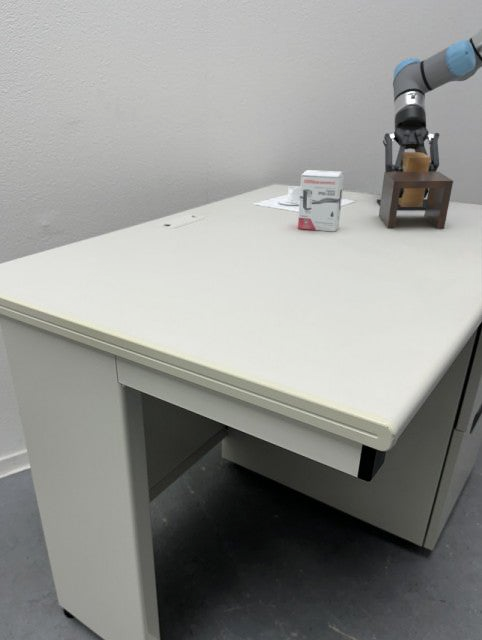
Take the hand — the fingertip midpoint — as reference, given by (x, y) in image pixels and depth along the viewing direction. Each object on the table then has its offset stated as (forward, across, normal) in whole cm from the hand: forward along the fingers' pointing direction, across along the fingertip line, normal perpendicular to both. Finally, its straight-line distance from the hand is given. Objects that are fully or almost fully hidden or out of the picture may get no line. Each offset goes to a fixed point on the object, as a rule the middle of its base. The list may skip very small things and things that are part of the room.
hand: (412, 194), depth 134 cm
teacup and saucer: (-3, -26, +8) cm, 27 cm away
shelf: (+12, -3, -7) cm, 14 cm away
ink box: (+16, -24, -11) cm, 31 cm away
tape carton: (-1, 0, +5) cm, 5 cm away
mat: (0, 0, +5) cm, 5 cm away
